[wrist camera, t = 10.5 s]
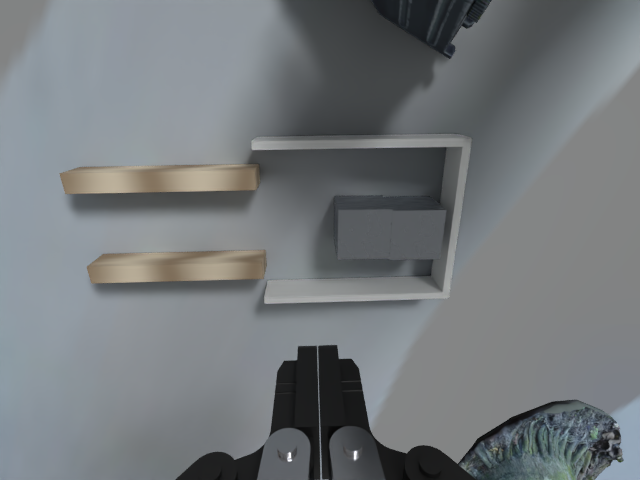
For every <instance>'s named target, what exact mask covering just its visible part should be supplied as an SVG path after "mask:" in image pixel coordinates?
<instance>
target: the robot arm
mask: <svg viewBox="0 0 640 480" xmlns="http://www.w3.org/2000/svg"><path fill="white" fill-rule="evenodd" d="M318 355H319V398H320V427H321V455H322V479H329V480H477V479H475V478H474V477H473V476H472V475H470V474H469V473H468V472H467V471H465V470H464V469H463V468H462V467H460V466H459V465H458V464H457V463H455V462H454V461H453V460H452V459H451V458H449V457H448V456H447V455H446V454H444V453H443V452H442V451H440V450H438V449H436V448H433V447H431V446H424V445H423V446H417V447H414V448H412V449H411V450H410V451H409V452H408V453H407V454H406V453H402V452H399V451H395V450H392V449H389V448H387V447H385V446H383V445H382V444H380V443H379V442H378V441H377V440H376V439H375V438H374V436H373V435H372V433H371V431H370V427H369V422H368V417H367V411H366V406H365V400H364V395H363V390H362V384H361V378H360V373H359V368H358V367H357V365H356V364H355V363H354V361H353V360H352V359H339V358H338V349H337V345H323V346H318ZM176 480H320V443H319V404H318V372H317V346H298V358H297V360H295V361H284V362H283V364H282V365H281V367H280V368H279V370H278V372H277V381H276V389H275V398H274V407H273V416H272V425H271V432H270V435H269V438H268V439H267V441H266V443H265V444H264V445H263V446H262V447H261V448H260V449H259V450H257V451H256V452H254V453H252V454H250V455H247V456H245V457H242V458H239V459H236V460H234V459H233V458H232V457H231V456H230V455H228V454H226V453H223V452H212V453H209V454H206V455H204V456H202V457H201V458H199V459H198V460H197V461H196V462H194V463H193V464H192V465H191V466H190V467H189V468H188V469H187V470H186V471H185V472H183V473H182V474H181V475H180V476H179V477H178V478H177V479H176Z"/></svg>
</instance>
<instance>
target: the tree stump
mask: <svg viewBox="0 0 640 480" xmlns="http://www.w3.org/2000/svg"><path fill="white" fill-rule="evenodd" d="M619 429H620V427H619V426H618V424H617V422H616V421H615V420H614V419H613V418H612V417H611V416H609V415H608V414H607V413H605V412H604V411H602V410H600V409H598V408H596V407H593V406H591V405H588V404H586V403H584V402H581V401H579V400H565V401H554V402H550V403H547V404H545V405H542V406H539V407H537V408H534V409H532V410H529V411H526V412H524V413H521V414H519V415H516V416H513V417H511V418H510V419H508V420H507V421H505V422H504V423H502V424H500V425H499V426H497V427H495V428H494V429H492V430H491V431H489V432H487V433H486V434H484V435H482V436H481V437H479V438H478V439H477V440H476V442H475V443H474V445H473V446H472V447H471V449H470V450H469V451H468V452H467V453H466V455H465V456H464V457H463V458H462V460H461V461H460V462H459V463H458V465H459V466H460V467H462V468H463V469H464V470H465V471H467V472H468V473H469V474H470V475H472V476H473V477H474V478H475V479H477V480H594V479H595V478H597V476H598V475H599V474H600V473H601V472H602V471H603V470H604V469H605V468H606V467H608V466H610V464H611V462H612V461H613V460H617V461H618V462H622V461H623V458H622V449H620V447H619V445H620V443H621V435H620V433H619ZM591 446H592V447H591Z"/></svg>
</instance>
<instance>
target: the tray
mask: <svg viewBox="0 0 640 480" xmlns="http://www.w3.org/2000/svg"><path fill="white" fill-rule="evenodd" d="M471 143H472V138H471V137H467V136H463V135H459V134H400V135H335V136H270V137H256V138H255V139H253V140H252V141H251V145H252V150H289V149H350V148H410V147H447V148H446V156H445V165H444V173H443V181H442V189H441V198H440V205H441V206H442V207H444V208H445V209H446V210H447V211H446V218H445V226H444V233H443V240H442V248H441V255H440V259H433V264H432V272H431V276H406V277H369V278H332V279H295V280H268V281H267V286H266V291H265V296H264V303H265V304H276V303H311V302H346V301H380V300H415V299H448V298H449V294H450V287H451V280H452V273H453V266H454V259H455V253H456V246H457V239H458V232H459V225H460V218H461V212H462V205H463V198H464V191H465V184H466V177H467V171H468V164H469V157H470V150H471Z"/></svg>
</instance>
